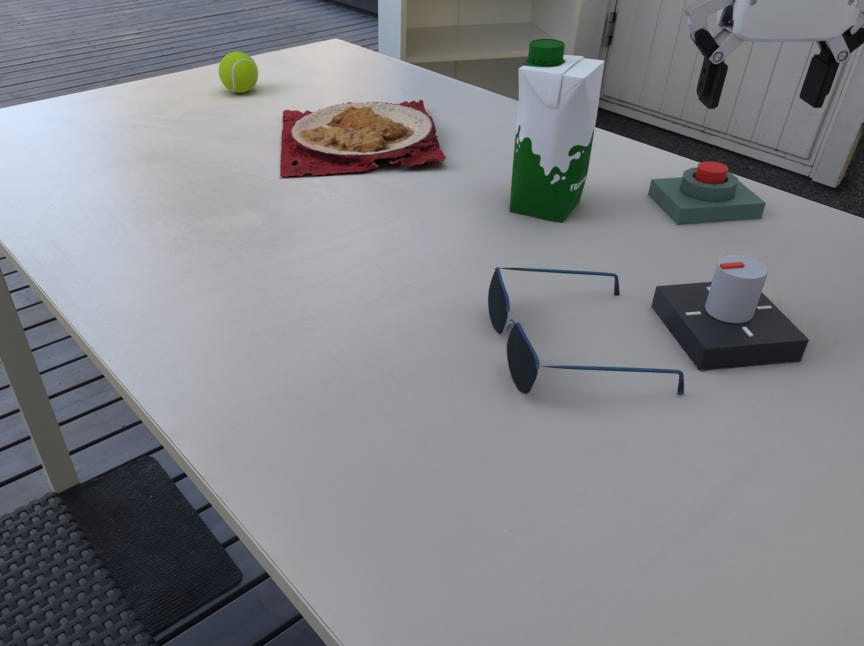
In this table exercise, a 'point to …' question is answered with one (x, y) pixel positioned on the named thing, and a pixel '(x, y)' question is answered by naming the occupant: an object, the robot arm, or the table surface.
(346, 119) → the plate with food
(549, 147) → the milk carton
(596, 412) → the table surface
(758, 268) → the temp dial
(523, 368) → the sunglasses
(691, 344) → the dial panel
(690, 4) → the robot arm
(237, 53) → the tennis ball
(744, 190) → the green button base
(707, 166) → the power button
